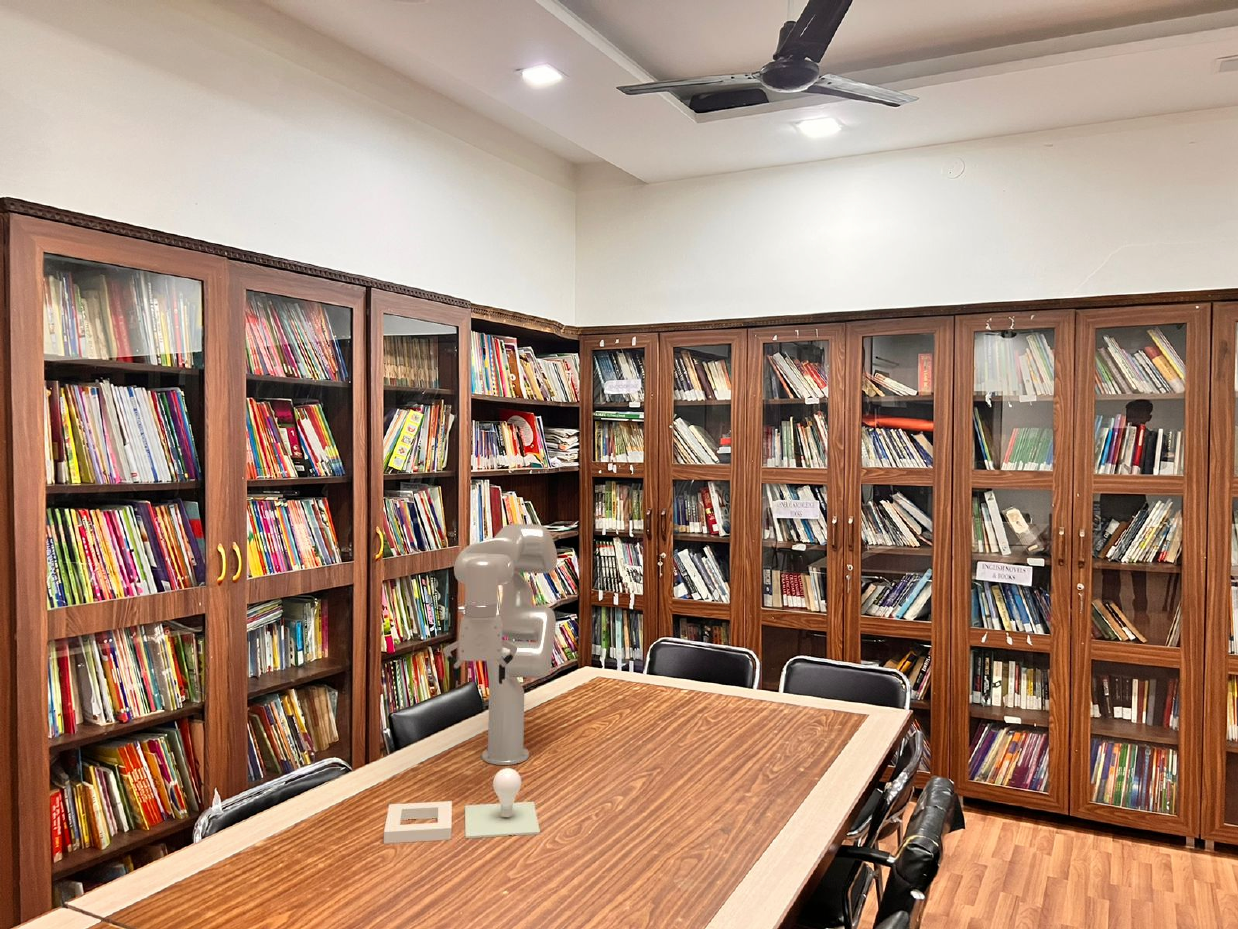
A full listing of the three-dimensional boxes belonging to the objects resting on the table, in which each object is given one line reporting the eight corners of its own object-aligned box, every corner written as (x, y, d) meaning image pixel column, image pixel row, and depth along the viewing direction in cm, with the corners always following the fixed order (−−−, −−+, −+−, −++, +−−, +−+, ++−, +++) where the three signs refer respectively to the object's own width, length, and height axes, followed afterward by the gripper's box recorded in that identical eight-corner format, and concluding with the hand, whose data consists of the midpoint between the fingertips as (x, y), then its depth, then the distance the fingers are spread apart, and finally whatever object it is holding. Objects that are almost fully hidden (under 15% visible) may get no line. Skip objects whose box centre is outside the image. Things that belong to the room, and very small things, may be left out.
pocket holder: (389, 815, 196) (389, 804, 196) (451, 812, 199) (452, 801, 199) (383, 843, 182) (383, 832, 182) (451, 839, 185) (451, 828, 185)
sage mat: (465, 807, 201) (465, 805, 201) (533, 803, 204) (533, 801, 204) (465, 838, 186) (465, 836, 186) (539, 834, 188) (539, 831, 188)
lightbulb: (521, 811, 199) (522, 764, 198) (519, 823, 192) (520, 774, 192) (493, 811, 198) (494, 763, 198) (490, 823, 192) (491, 774, 192)
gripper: (443, 614, 198) (442, 688, 199) (518, 613, 202) (517, 686, 202) (443, 608, 206) (442, 679, 206) (516, 607, 209) (515, 677, 209)
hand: (479, 683), depth 204 cm, fingers open, 9 cm apart
